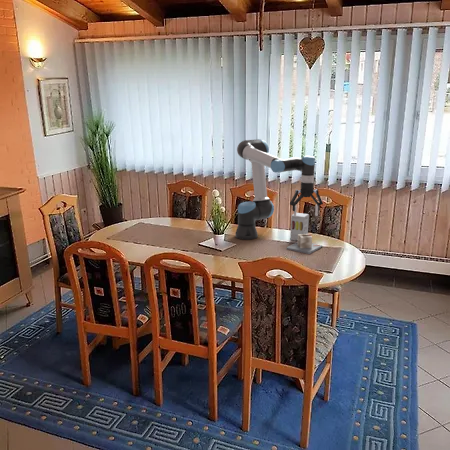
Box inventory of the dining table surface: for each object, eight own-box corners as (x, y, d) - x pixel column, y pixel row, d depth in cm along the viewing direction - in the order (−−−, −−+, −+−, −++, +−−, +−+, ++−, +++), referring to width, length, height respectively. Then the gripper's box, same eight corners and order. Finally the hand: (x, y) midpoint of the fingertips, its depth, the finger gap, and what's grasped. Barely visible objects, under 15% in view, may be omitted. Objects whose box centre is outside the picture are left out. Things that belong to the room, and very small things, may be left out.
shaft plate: (286, 249, 288) (286, 239, 286) (299, 242, 301) (300, 233, 299) (309, 254, 278) (310, 244, 277) (322, 247, 291) (322, 237, 290)
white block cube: (300, 248, 286) (301, 236, 284) (297, 244, 292) (297, 233, 290) (311, 247, 286) (312, 236, 284) (308, 244, 293) (308, 233, 291)
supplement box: (289, 239, 307) (290, 215, 303) (294, 236, 315) (295, 212, 310) (303, 241, 303) (304, 216, 298) (308, 238, 311) (309, 213, 306)
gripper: (288, 183, 273) (287, 218, 279) (329, 182, 276) (327, 216, 282) (285, 181, 280) (284, 214, 286) (325, 180, 284) (323, 213, 289)
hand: (305, 215), depth 284 cm, fingers open, 13 cm apart
